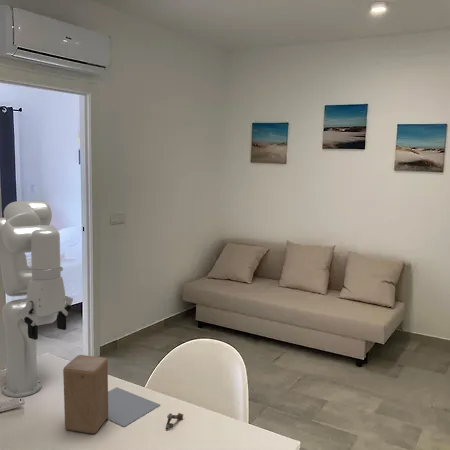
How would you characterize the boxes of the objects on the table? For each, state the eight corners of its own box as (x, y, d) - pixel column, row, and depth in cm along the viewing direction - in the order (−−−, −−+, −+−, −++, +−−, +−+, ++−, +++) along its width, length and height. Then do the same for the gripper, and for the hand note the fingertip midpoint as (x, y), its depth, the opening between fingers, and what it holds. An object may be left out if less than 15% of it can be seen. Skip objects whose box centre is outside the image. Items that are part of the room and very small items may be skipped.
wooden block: (95, 435, 146) (93, 371, 142) (63, 430, 148) (61, 367, 144) (109, 417, 155) (108, 356, 152) (80, 413, 157) (78, 353, 154)
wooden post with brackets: (162, 428, 149) (166, 412, 150) (175, 427, 156) (178, 412, 157) (167, 430, 149) (171, 414, 150) (180, 428, 155) (183, 413, 157)
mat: (79, 406, 162) (79, 406, 161) (116, 387, 175) (116, 387, 175) (124, 427, 151) (124, 426, 151) (160, 405, 164) (160, 404, 164)
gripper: (62, 267, 147) (63, 323, 149) (9, 277, 133) (12, 339, 135) (79, 270, 143) (81, 328, 145) (28, 281, 129) (30, 345, 131)
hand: (47, 333), depth 140 cm, fingers open, 9 cm apart
